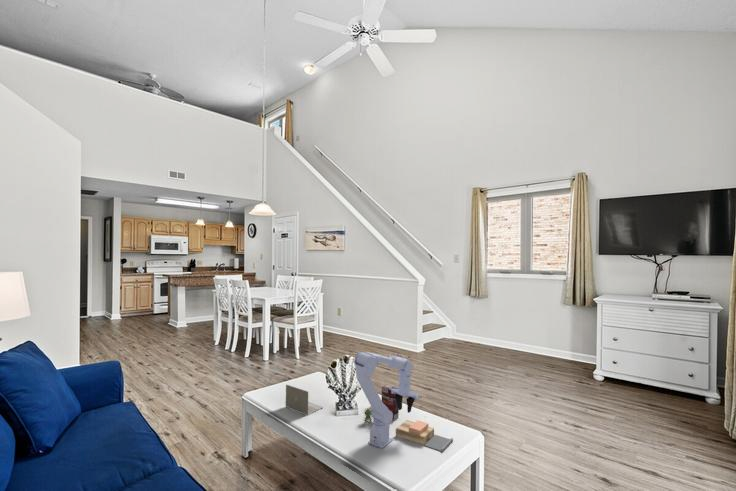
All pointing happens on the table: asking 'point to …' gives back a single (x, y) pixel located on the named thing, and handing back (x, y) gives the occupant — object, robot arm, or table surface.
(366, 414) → the green toy figurine
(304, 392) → the laptop
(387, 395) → the supplement box
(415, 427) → the block
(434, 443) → the mat
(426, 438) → the deck
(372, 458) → the table surface
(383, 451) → the table surface
